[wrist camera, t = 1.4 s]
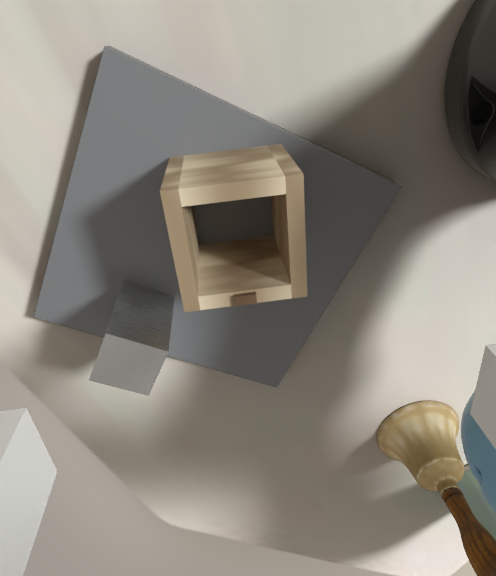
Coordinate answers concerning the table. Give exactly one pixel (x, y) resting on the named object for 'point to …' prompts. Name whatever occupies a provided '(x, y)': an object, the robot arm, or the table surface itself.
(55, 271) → the base board
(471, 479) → the disposable coffee cup
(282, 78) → the table surface
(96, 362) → the steel block
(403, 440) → the hand bell
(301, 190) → the hollow wooden cube frame
